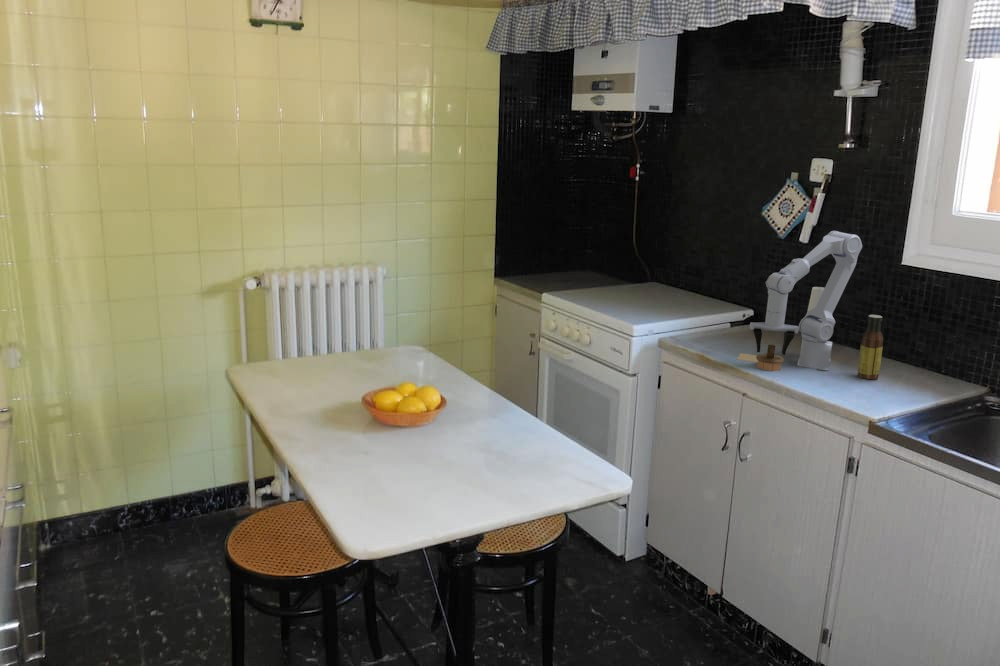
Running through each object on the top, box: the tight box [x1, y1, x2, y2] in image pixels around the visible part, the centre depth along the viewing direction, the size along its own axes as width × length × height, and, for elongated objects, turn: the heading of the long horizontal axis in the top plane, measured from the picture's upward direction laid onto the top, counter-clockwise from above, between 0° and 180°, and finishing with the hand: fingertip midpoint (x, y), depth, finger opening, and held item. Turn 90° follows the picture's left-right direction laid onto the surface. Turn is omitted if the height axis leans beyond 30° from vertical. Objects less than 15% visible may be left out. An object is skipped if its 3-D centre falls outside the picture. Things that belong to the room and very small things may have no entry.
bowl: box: [756, 360, 782, 372], centre depth 255 cm, size 7×7×3 cm
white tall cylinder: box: [806, 286, 825, 321], centre depth 266 cm, size 7×7×24 cm
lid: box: [756, 344, 785, 364], centre depth 254 cm, size 8×8×5 cm
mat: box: [736, 352, 758, 363], centre depth 265 cm, size 9×8×1 cm
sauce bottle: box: [857, 314, 884, 380], centre depth 248 cm, size 6×6×20 cm
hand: (770, 352), depth 254 cm, fingers open, 7 cm apart
